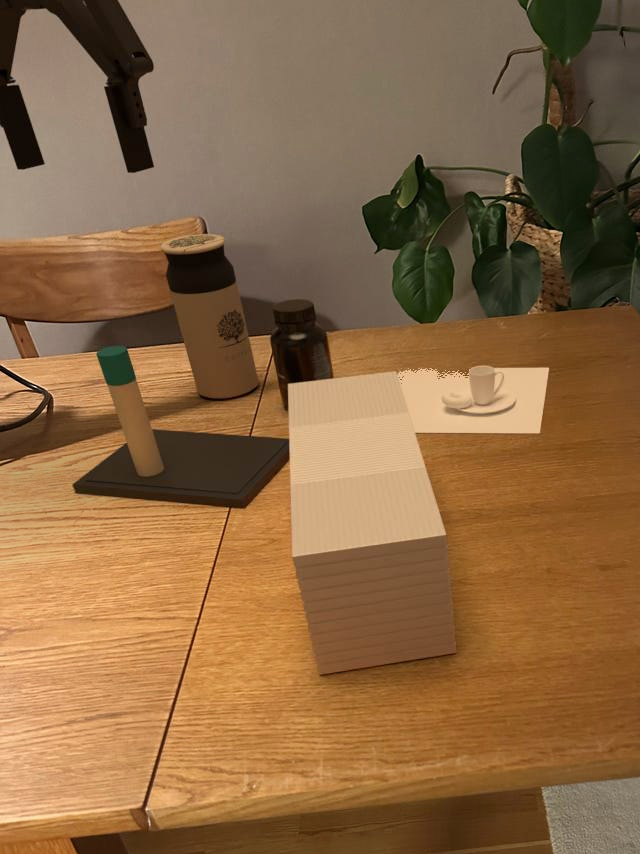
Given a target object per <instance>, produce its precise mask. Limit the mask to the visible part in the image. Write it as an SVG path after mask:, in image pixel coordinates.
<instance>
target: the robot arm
mask: <svg viewBox="0 0 640 854" xmlns="http://www.w3.org/2000/svg"><path fill="white" fill-rule="evenodd" d="M45 9H46V10H47V11H48V12H49V13H50V14H52V15H55V16H56V17H57V18H58V19H59V20H60V22H62V24H63V25H64V26H65V27H66V29H67V30H68V31H69V32H70V34H71V35H72V36H73V37H74V38H75V40H76V41H77V42H78V43H79V44H80V46H81V47H82V49H83V50H84V51H85V52H86V53H87V54H88V56H89V57H90V58H91V59H92V61H93V62H94V63H95V64H96V65H97V67H98V68H99V69H100V70H101V71H102V73H103V74H104V75H105V76H106V78H107V79H106V81H105V86H103V89H104V92H105V96H106V99H107V104H108V107H109V110H110V111H109V112H110V114H111V118H112V121H113V124H114V128H115V131H116V135H117V136H116V137H117V140H118V144H119V147H120V150H121V154H122V157H123V161H124V164H125V168H126V171H127V173H128V174H135V173H138V172H143V171H145V170H150V169H153V168H155V164H154V161H153V156H152V153H151V149H150V145H149V141H148V138H147V133H146V129H145V127H146V126H148V118H147V113H146V111H145V106H144V103H143V98H142V94H141V91H140V90H141V89H140V85H139V82H140V79H141V78H142V77H144V76H145V75H147V74H150V73H153V71H154V69H155V65H154V64H155V63H154V62H153V60H152V58H151V56H150V54H149V52H148V51H147V48H146V46H145V45H144V43H143V42H142V40H141V38H140V37H139V35H138V33H137V31H136V30H135V27H134V25H133V24H132V22H131V21H130V18H129V17H128V15H127V14H126V12H125V10H124V8H123V6H122V5H121V3H120V1H119V0H0V128H2V129H3V132H4V134H5V138H6V140H7V143H8V146H9V149H10V151H11V155H12V157H13V161H14V163H15V166H16V169H17V170H27V169H28V170H29V169H31V168H36V167H39V166H44V165H46V162H45V159H44V157H43V154H42V150H41V147H40V144H39V141H38V139H37V136H36V132H35V130H34V127H33V124H32V121H31V117H30V114H29V112H28V109H27V106H26V102H25V100H24V96H23V93H22V90H21V88H20V85H19V84H15V83H16V81H17V80H16V79H14V77H13V76H12V69H13V64H14V59H15V53H16V48H17V42H18V37H19V36H18V35H19V31H20V24H21V19H22V17H23V16H24V15H25V14H26V13H27V11H30V10H45Z"/></svg>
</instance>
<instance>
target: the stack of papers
mask: <svg viewBox="0 0 640 854" xmlns="http://www.w3.org/2000/svg"><path fill="white" fill-rule="evenodd" d="M397 375H398V373H397V371H396V370H393V371H384V372H376V373H369V374H368V373H367V374H361V375H352V376H351V375H350V376H343V377H334V379H326V380H317V381H308V382H300V383H293V384H288V409H287V410H288V439H289V448H290V459H289V482H290V483H289V485H290V488H289V489H290V520H291V521H290V523H291V524H290V525H291V528H290V529H291V555H292V556H291V559H292V562H293V566H294V571H295V576H296V580H297V584H298V587H299V588H298V589H299V591H300V593H299V594H300V598H301V602H302V606H303V611H304V613H305V620H306V623H307V629H308V633H309V638H310V642H311V644H312V646H311V647H312V650H313V654H314V659H315V664H316V668H317V673H318V675H319V676H321V675H327V674H332V673H339V672H345V671H351V670H357V669H358V670H359V669H365V668H370V667H371V668H372V667H377V666H383V665H390V664H394V663H402V662H408V661H414V660H421V659H426V658H433V657H434V658H435V657H439V656H445V655H451V654H458V652H457V651H458V650H457V649H458V648H457V643H456V642H457V638H456V629H455V617H454V603H453V594H452V584H451V572H450V559H449V550H448V549H449V547H448V538H447V532H446V529H445V526H444V522H443V519H442V516H441V512H440V510H439V505H438V503H437V500H436V497H435V493H434V489H433V487H432V483H431V479H430V477H429V474H428V470H427V467H426V464H425V460H424V458H423V453H422V450H421V448H420V444H419V441H418V438H417V433H415V431H414V428H413V424H412V421H411V418H410V415H409V411H408V408H407V405H406V402H405V398H404V395H403V392H402V389H401V385H400V382H399V379H398V376H397Z"/></svg>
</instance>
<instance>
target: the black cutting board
mask: <svg viewBox="0 0 640 854" xmlns="http://www.w3.org/2000/svg"><path fill="white" fill-rule="evenodd" d="M152 431H153V434H154V437H155V441H156V444H157V447H158V450H159V453H160V456H161V460H162V463H163V466H164V470H163V471H162V472H161V473H159V474H157V475H154V476H149V477H142V476H139V475H138V474H137V471H136V468H135V465H134V462H133V459H132V456H131V453H130V450H129V447H128V444H127V442H125V443H124V444H122V445H121V446H120V447H118V448H117V449H116V450H115V451H113V452H112V453H111V454H110V455H108V456H106V458H104V459H103V460H101V462H99V463H98V464H97V465H96V466H95V467H93V468H92V469H90V470H89V471H87V472H86V473H85V474H84V475H82V476H81V477H79V479H78V480H76V481H75V482H73V483H72V484H71V485H72V488H73V490H74V493H76V494H83V495H84V494H85V495H95V496H106V497H118V498H128V499H138V500H151V501H162V502H172V503H185V504H197V505H205V506H206V505H207V506H217V507H228V508H240V509H245V508H246V507H247V506H248V505H249V504H250V503H251V502H252V501H253V499H254V498H255V497H256V496H257V495H258V494H259V493H260V492H261V491H262V489H264V487H265V486H266V485H267V484H268V483H269V482H270V481H271V480H272V479H273V478H274V477H275V475H277V473H278V472H279V471H281V469H282V468H283V467H284V466H285V465H286V464H287V463H288V461H290V448H289V438H287V437H272V436H271V437H270V436H259V435H257V436H256V435H243V434H242V435H241V434H230V433H229V434H227V433H216V432H215V433H213V432H199V431H187V430H186V431H185V430H171V429H170V430H169V429H156V428H154V429H153V428H152Z"/></svg>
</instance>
